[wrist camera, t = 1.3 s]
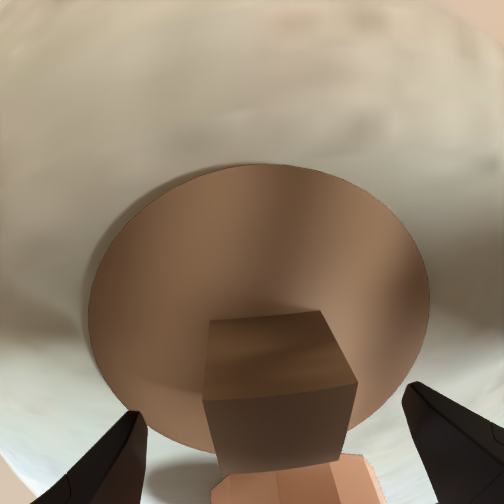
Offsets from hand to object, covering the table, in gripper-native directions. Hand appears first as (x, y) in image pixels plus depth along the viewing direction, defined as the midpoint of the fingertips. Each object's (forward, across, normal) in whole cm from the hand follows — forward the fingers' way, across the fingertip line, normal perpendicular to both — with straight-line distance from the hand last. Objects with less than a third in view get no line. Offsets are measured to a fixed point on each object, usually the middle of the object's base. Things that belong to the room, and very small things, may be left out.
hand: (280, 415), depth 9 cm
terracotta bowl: (+4, -2, +15) cm, 16 cm away
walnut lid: (+4, 0, 0) cm, 4 cm away
